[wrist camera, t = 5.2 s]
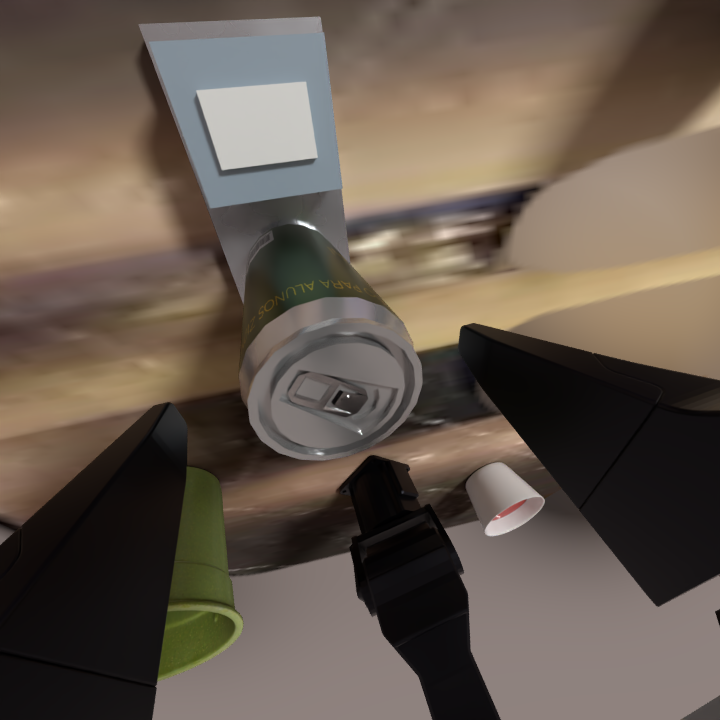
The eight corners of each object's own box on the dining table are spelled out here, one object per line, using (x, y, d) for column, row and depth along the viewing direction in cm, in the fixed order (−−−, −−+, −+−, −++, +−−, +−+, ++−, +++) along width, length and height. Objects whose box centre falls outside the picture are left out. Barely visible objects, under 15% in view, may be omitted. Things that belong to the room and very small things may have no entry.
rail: (360, 372, 25) (364, 379, 24) (279, 394, 23) (280, 402, 23) (316, 25, 13) (320, 16, 12) (146, 33, 12) (138, 24, 11)
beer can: (231, 287, 17) (203, 450, 7) (271, 200, 15) (301, 270, 6) (311, 323, 20) (364, 474, 10) (353, 253, 18) (464, 358, 8)
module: (331, 185, 15) (343, 189, 13) (215, 201, 14) (209, 209, 12) (313, 51, 12) (325, 29, 10) (165, 60, 11) (145, 38, 9)
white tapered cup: (447, 494, 43) (472, 538, 38) (484, 453, 39) (517, 496, 34) (485, 494, 47) (512, 534, 42) (522, 458, 44) (556, 496, 39)
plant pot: (264, 452, 27) (270, 597, 18) (225, 525, 31) (213, 670, 22) (104, 434, 21) (-5, 635, 12) (83, 527, 25) (-8, 724, 17)
